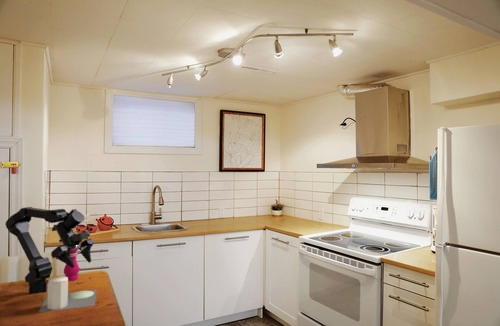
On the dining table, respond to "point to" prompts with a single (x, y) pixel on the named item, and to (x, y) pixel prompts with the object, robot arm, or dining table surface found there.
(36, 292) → the robot arm
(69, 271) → the pepper mill
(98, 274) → the dining table surface
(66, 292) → the salt shaker
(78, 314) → the dining table surface
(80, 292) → the board
